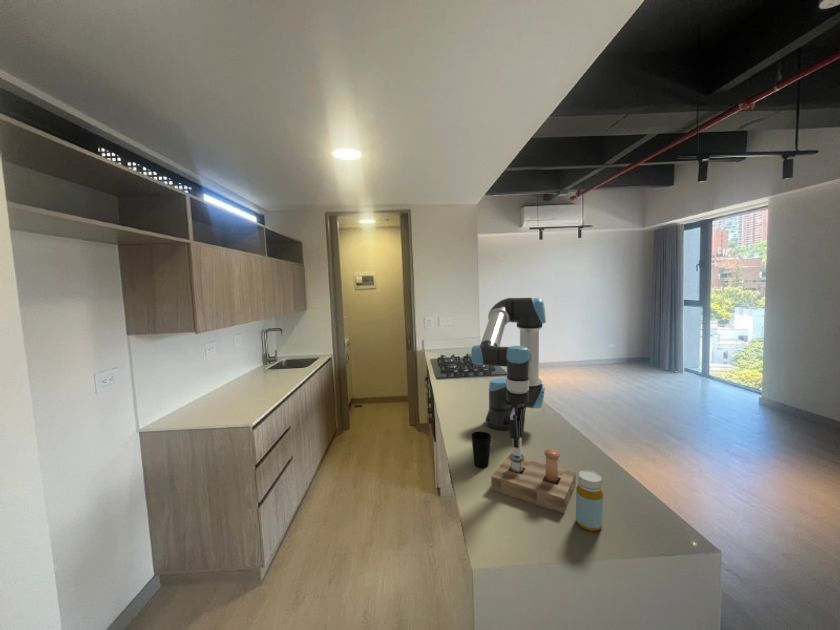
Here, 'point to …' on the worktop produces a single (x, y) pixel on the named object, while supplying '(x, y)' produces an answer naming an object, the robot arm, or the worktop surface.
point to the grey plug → (517, 463)
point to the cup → (481, 448)
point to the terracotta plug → (552, 464)
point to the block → (535, 485)
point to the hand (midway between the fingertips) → (517, 454)
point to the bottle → (589, 500)
